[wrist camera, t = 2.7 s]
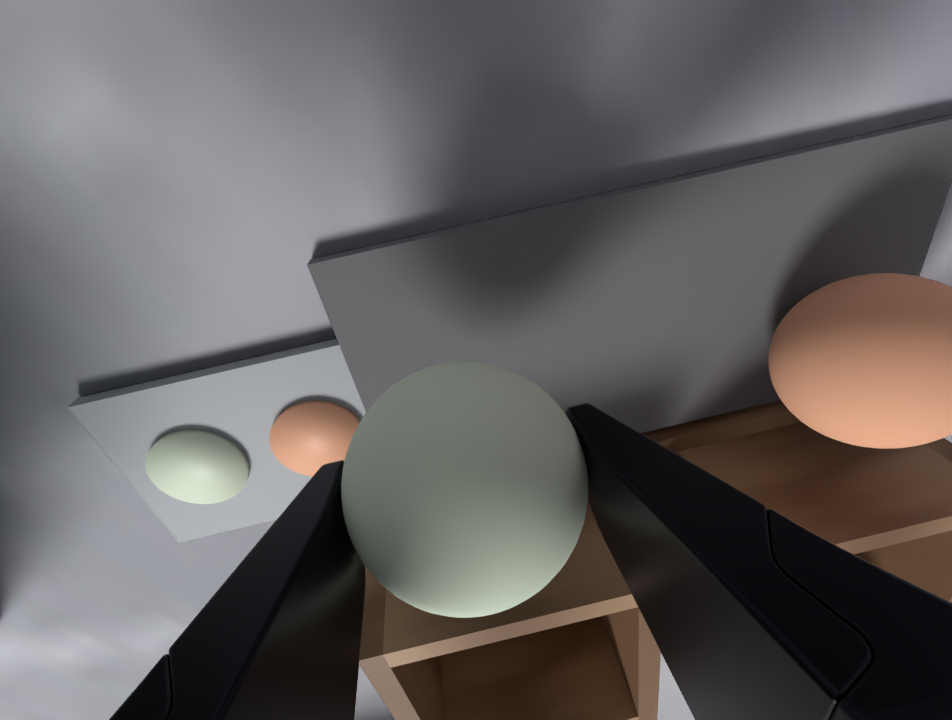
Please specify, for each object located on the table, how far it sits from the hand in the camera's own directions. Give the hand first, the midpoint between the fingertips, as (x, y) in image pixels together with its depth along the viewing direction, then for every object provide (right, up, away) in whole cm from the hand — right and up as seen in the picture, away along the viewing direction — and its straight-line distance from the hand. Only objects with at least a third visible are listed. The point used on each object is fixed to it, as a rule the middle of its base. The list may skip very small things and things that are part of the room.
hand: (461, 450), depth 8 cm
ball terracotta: (+9, +3, +4) cm, 10 cm away
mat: (+5, +3, +4) cm, 6 cm away
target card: (-5, -1, +4) cm, 7 cm away
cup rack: (+6, -4, +8) cm, 10 cm away
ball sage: (0, +1, +1) cm, 1 cm away
